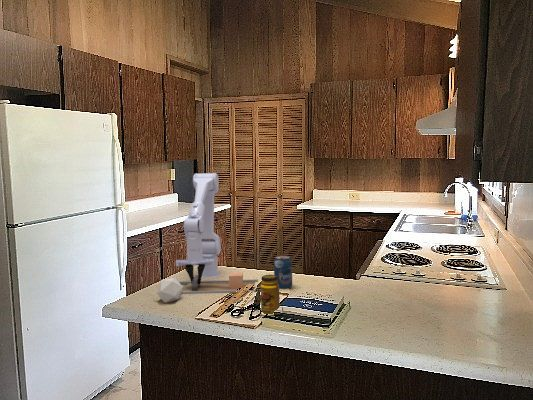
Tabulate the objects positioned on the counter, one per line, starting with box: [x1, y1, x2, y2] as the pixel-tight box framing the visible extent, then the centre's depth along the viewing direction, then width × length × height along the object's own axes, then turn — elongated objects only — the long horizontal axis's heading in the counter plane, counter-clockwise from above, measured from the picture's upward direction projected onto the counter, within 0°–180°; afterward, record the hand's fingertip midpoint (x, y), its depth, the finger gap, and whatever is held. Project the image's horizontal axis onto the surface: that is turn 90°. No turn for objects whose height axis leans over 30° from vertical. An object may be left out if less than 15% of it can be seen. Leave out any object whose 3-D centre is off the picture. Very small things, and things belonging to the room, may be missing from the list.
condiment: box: [260, 274, 281, 314], centre depth 145 cm, size 7×8×12 cm
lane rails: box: [177, 278, 259, 296], centre depth 172 cm, size 15×36×1 cm, turn 90°
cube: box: [228, 271, 244, 289], centre depth 172 cm, size 5×5×5 cm
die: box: [156, 277, 184, 304], centre depth 159 cm, size 8×9×10 cm
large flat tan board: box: [190, 274, 256, 291], centre depth 172 cm, size 12×24×4 cm, turn 90°
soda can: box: [273, 255, 293, 290], centre depth 171 cm, size 7×7×12 cm
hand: (196, 283), depth 172 cm, fingers closed on large flat tan board, 2 cm apart
